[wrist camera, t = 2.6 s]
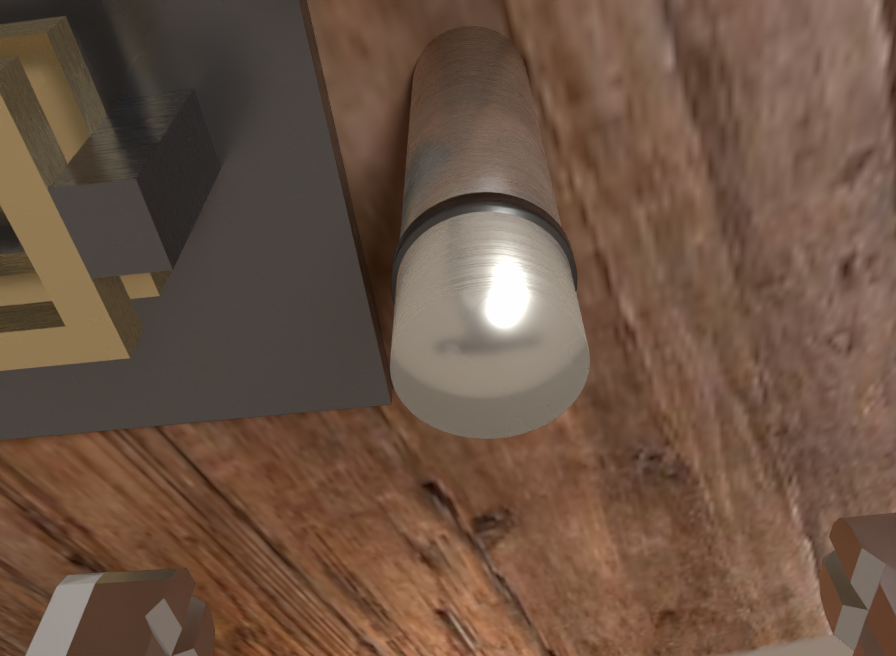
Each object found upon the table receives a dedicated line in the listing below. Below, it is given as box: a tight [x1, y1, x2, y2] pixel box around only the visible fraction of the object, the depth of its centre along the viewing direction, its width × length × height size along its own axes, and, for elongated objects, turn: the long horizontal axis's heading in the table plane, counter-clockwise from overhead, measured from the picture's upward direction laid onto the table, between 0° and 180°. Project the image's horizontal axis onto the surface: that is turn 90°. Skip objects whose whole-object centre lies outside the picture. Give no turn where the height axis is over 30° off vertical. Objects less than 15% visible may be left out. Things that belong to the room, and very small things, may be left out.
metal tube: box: [390, 26, 590, 439], centre depth 17 cm, size 3×3×12 cm
